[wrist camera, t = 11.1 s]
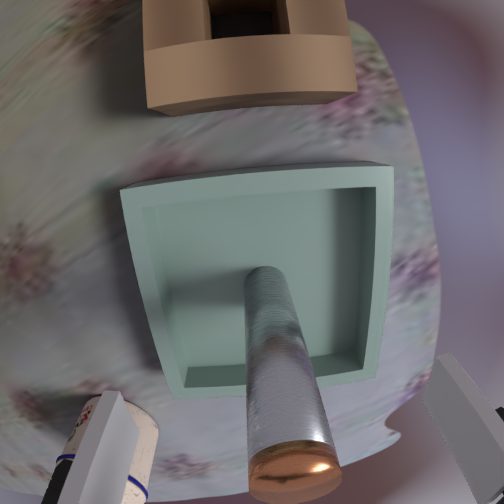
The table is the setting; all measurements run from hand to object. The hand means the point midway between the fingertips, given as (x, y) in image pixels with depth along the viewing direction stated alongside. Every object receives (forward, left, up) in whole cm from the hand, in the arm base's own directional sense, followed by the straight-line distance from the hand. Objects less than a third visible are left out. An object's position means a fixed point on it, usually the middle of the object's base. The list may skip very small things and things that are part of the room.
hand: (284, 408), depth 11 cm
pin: (0, 0, -11) cm, 11 cm away
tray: (0, 0, -12) cm, 12 cm away
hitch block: (0, +17, -12) cm, 21 cm away
